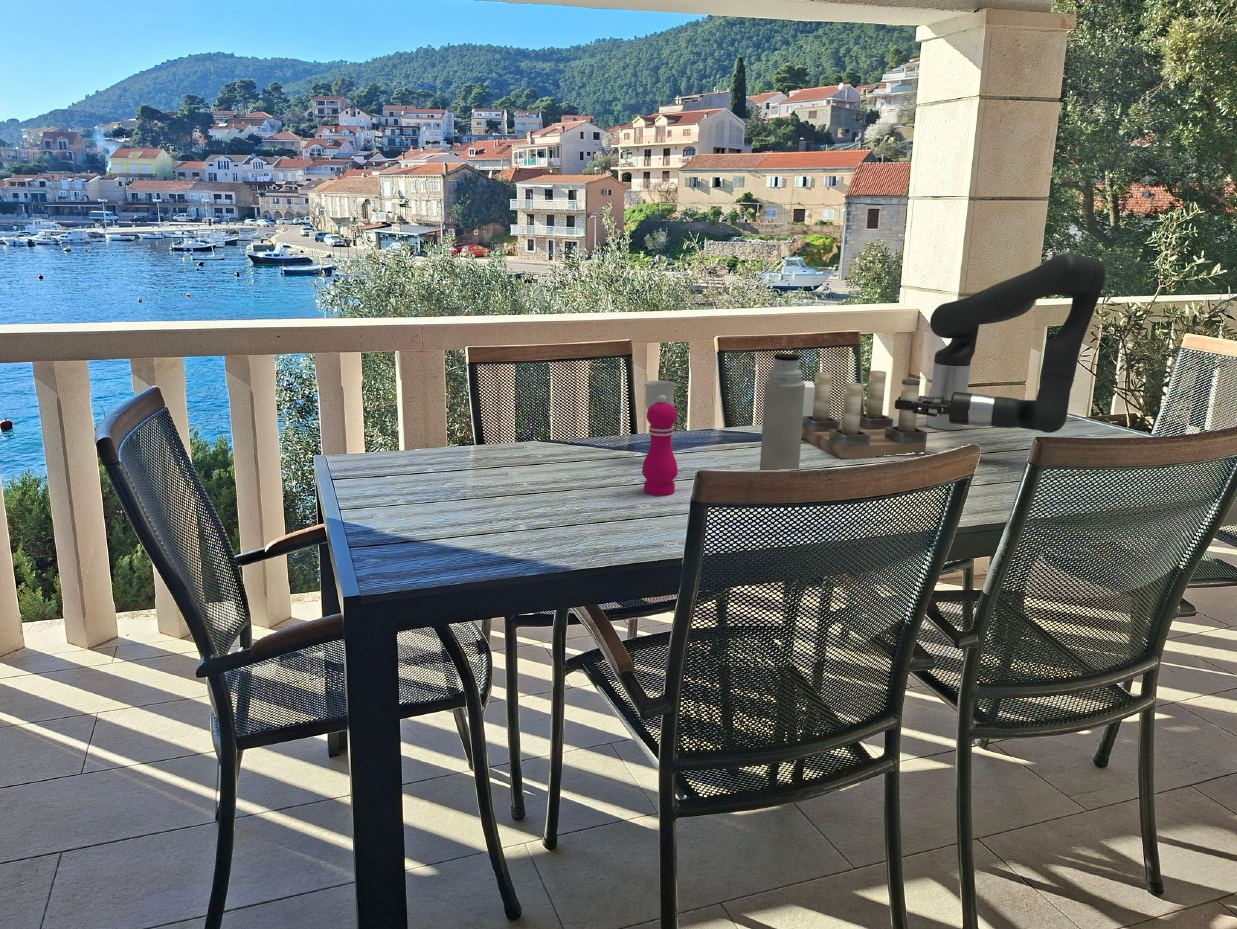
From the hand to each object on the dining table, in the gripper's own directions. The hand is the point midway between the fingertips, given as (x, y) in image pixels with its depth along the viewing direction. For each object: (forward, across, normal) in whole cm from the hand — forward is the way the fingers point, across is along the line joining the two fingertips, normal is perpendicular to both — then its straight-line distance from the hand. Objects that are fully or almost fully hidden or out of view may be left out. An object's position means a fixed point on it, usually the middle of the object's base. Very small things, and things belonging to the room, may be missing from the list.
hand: (896, 402), depth 228 cm
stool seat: (+8, -1, +12) cm, 14 cm away
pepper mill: (+37, +59, +12) cm, 71 cm away
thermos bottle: (+16, +45, +12) cm, 49 cm away
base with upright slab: (+25, -13, +12) cm, 30 cm away
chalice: (+47, +37, +12) cm, 61 cm away
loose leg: (-3, 0, +8) cm, 9 cm away
